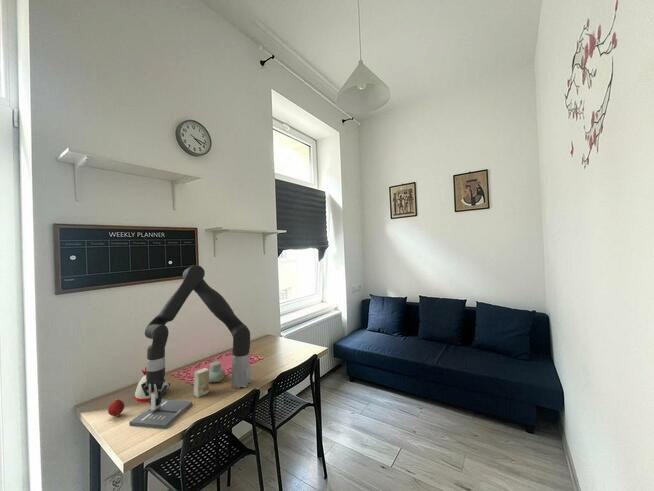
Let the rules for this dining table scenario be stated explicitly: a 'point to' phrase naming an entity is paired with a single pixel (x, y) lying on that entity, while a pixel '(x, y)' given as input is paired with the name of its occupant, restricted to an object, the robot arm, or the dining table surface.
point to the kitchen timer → (139, 391)
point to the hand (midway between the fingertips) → (155, 404)
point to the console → (161, 414)
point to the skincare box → (201, 382)
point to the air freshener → (216, 372)
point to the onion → (116, 408)
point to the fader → (153, 403)
